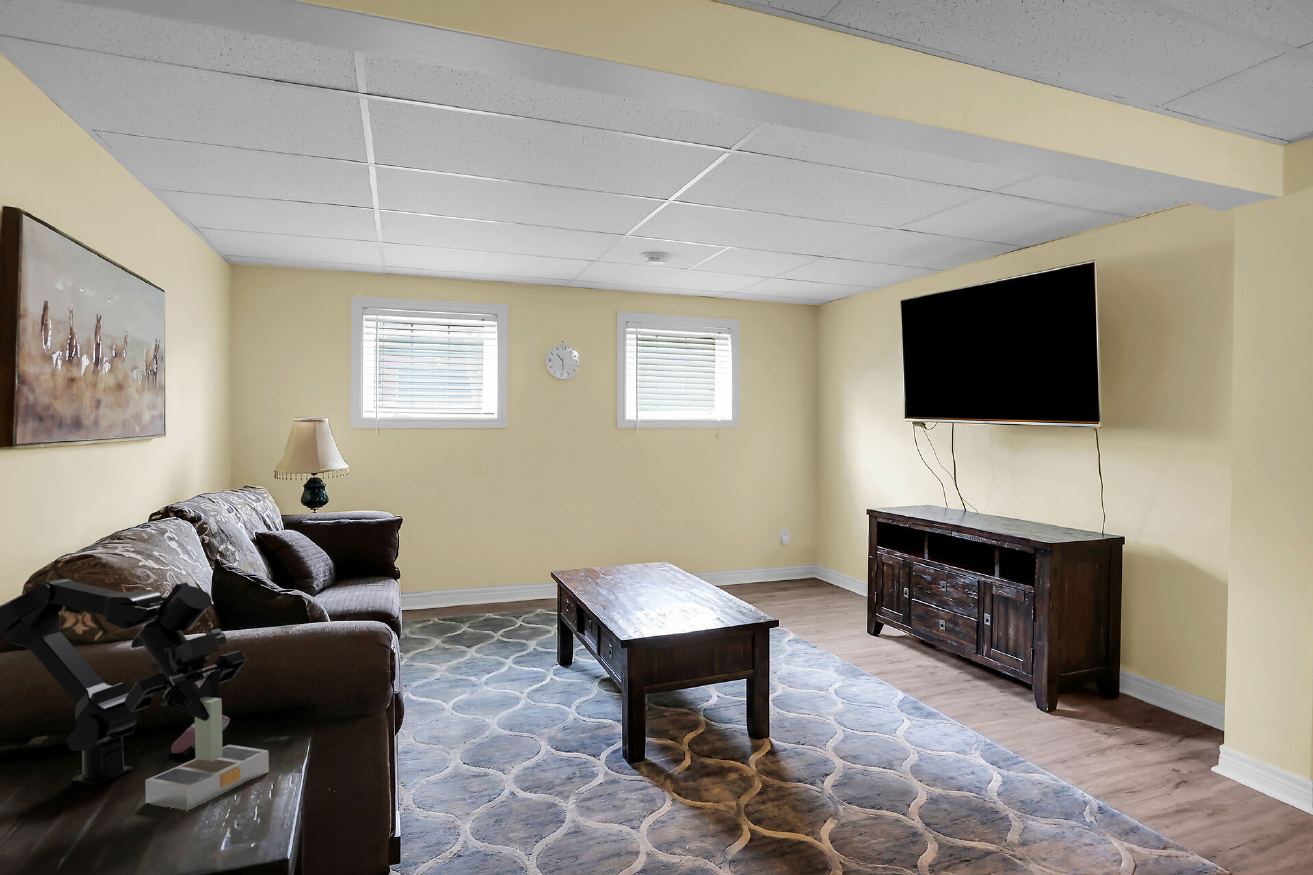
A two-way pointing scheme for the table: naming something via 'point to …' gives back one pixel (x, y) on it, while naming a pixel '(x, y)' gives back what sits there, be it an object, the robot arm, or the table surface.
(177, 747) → the video game controller
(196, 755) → the pale green rectangular block
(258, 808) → the table surface
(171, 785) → the rack
